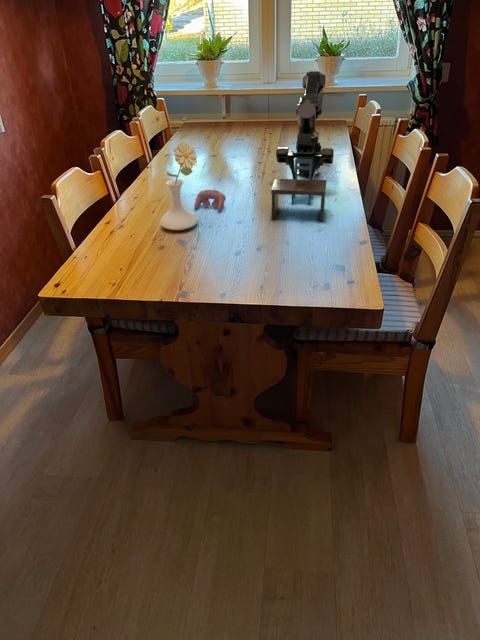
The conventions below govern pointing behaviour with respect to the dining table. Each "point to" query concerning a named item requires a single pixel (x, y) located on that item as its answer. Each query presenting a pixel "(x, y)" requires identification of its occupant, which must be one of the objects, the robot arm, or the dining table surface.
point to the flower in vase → (178, 214)
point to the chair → (306, 161)
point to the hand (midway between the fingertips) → (302, 179)
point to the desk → (298, 191)
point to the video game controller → (210, 194)
